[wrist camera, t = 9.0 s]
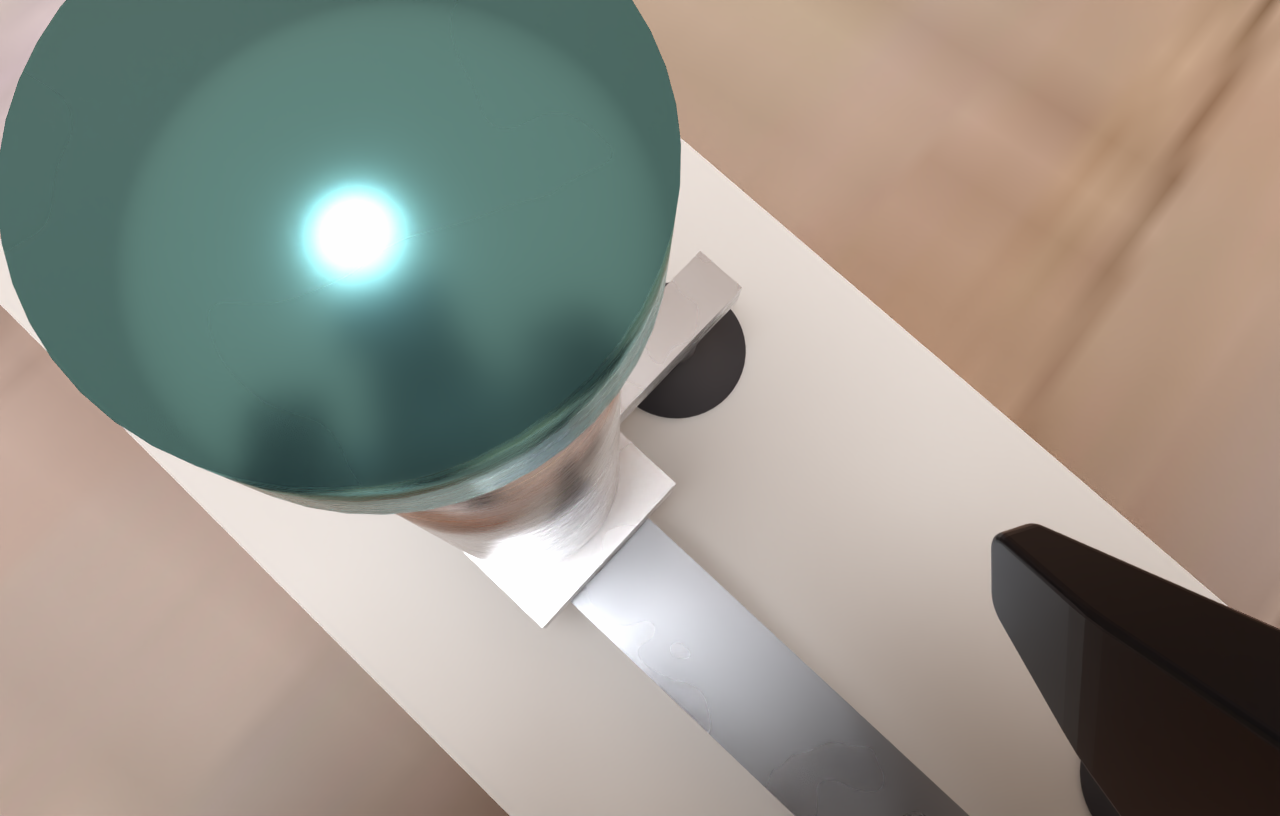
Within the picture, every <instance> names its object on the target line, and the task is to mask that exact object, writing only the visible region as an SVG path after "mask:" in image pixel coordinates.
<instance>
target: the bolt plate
mask: <svg viewBox="0 0 1280 816" xmlns="http://www.w3.org/2000/svg"><path fill="white" fill-rule="evenodd" d="M680 140H681V171H680V190H679V197H678V203H677V210H676V217H675V224H674V230H673V237H672V244H671V251H670V257H669V264H668V270H667V276H666V282H665V286H666V285H667V284H668V283H669V282H670V281H671V280H672V279H673V278H674V277H675V276H676V275H677V274H678V273H679V272H680V271H681V270H682V269H683V268H684V267H685V266H686V265H687V264H688V263H689V262H690V261H691V260H692V259H693V258H694V257H695V256H696V255H697V254H698V253H699V251H701V252H702V253H703V254H704V255H706V256H707V257H708V258H709V259H710V260H711V261H712V262H714V263H715V264H716V265H717V266H718V267H719V268H720V269H722V270H723V271H724V272H725V273H726V274H727V275H728V276H730V277H731V278H732V279H733V280H734V281H735V282H736V283H738V284H739V285H740V286H741V287H742V289H741V292H740V295H739V298H738V300H737V302H736V303H735V305H734V306H733V307H732V308H731V309H730V310H729V311H728V312H727V313H726V314H725V315H724V316H723V317H722V318H721V319H720V320H719V321H718V322H717V323H716V324H715V325H714V327H713V328H712V329H711V330H710V331H709V332H708V333H707V334H706V335H705V336H704V337H703V338H702V339H701V340H700V341H699V342H698V343H697V345H696V348H695V351H694V353H693V355H692V356H691V357H690V358H689V359H688V360H686V361H685V362H682V363H678V364H677V365H676V366H675V367H674V368H673V369H672V371H671V372H670V373H669V374H668V375H667V376H666V377H665V378H664V379H663V380H662V381H661V382H660V383H659V384H658V385H657V386H656V387H655V388H654V389H653V390H652V391H651V393H650V394H649V395H648V396H647V397H646V398H645V399H644V400H643V401H642V402H641V403H640V404H639V405H638V406H637V407H636V408H635V409H634V410H633V411H632V412H631V413H630V415H629V416H628V417H627V418H626V419H625V420H624V421H623V422H622V423H621V424H620V433H622V434H623V435H624V436H625V437H626V438H627V439H628V440H629V441H630V442H631V443H632V444H634V445H635V446H636V447H637V448H638V449H639V450H640V451H641V452H642V453H643V454H644V455H646V456H647V457H648V458H649V459H650V460H651V461H652V462H653V463H654V464H655V465H656V466H658V467H659V468H660V469H661V470H662V471H663V472H664V473H665V474H666V475H667V476H668V477H670V478H671V479H672V480H673V481H674V482H675V483H676V485H675V487H674V489H673V492H672V493H671V494H670V495H669V496H668V497H667V498H666V499H665V500H664V501H663V503H662V504H661V505H660V506H659V507H658V508H657V509H656V510H655V511H654V512H653V513H652V514H651V515H650V517H649V519H650V520H651V521H652V522H653V523H654V524H655V525H656V526H657V527H659V528H660V529H661V530H662V531H663V532H664V533H665V534H666V535H667V536H668V537H669V538H670V539H672V540H673V541H674V542H675V543H676V544H677V545H678V546H679V547H680V548H681V549H682V550H683V551H684V552H686V553H687V554H688V555H689V556H690V557H691V558H692V559H693V560H694V561H695V562H696V563H697V564H698V565H700V566H701V567H702V568H703V569H704V570H705V571H706V572H707V573H708V574H709V575H710V576H711V577H713V578H714V579H715V580H716V581H717V582H718V583H719V584H720V585H721V586H722V587H723V588H724V589H725V590H727V591H728V592H729V593H730V594H731V595H732V596H733V597H734V598H735V599H736V600H737V601H738V602H739V603H741V604H742V605H743V606H744V607H745V608H746V609H747V610H748V611H749V612H750V613H751V614H752V615H754V616H755V617H756V618H757V619H758V620H759V621H760V622H761V623H762V624H763V625H764V626H765V627H766V628H768V629H769V630H770V631H771V632H772V633H773V634H774V635H775V636H776V637H777V638H778V639H779V640H780V641H782V642H783V643H784V644H785V645H786V646H787V647H788V648H789V649H790V650H791V651H792V652H793V653H795V654H796V655H797V656H798V657H799V658H800V659H801V660H802V661H803V662H804V663H805V664H806V665H807V666H809V667H810V668H811V669H812V670H813V671H814V672H815V673H816V674H817V675H818V676H819V677H820V678H821V679H823V680H824V681H825V682H826V683H827V684H828V685H829V686H830V687H831V688H832V689H833V690H834V691H835V692H837V693H838V694H839V695H840V696H841V697H842V698H843V699H844V700H845V701H846V702H847V703H848V704H850V705H851V706H852V707H853V708H854V709H855V710H856V711H857V712H858V713H859V714H860V715H861V716H862V717H864V718H865V719H866V720H867V721H868V722H869V723H870V724H871V725H872V726H873V727H874V728H875V729H876V730H878V731H879V732H880V733H881V734H882V735H883V736H884V737H885V738H886V739H887V740H888V741H889V742H891V743H892V744H893V745H894V746H895V747H896V748H897V749H898V750H899V751H900V752H901V753H902V754H903V755H905V756H906V757H907V758H908V759H909V760H910V761H911V762H912V763H913V764H914V765H915V766H916V767H917V768H919V769H920V770H921V771H922V772H923V773H924V774H925V775H926V776H927V777H928V778H929V779H930V780H932V781H933V782H934V783H935V784H936V785H937V786H938V787H939V788H940V789H941V790H942V791H943V792H944V793H946V794H947V795H948V796H949V797H950V798H951V799H952V800H953V801H954V802H955V803H956V804H957V805H958V806H960V807H961V808H962V809H963V810H964V811H965V812H966V813H967V814H968V815H969V816H1120V815H1119V813H1118V812H1117V811H1116V809H1115V808H1114V807H1113V805H1112V804H1111V802H1110V801H1109V800H1108V798H1107V797H1106V795H1105V794H1104V793H1103V791H1102V790H1101V789H1100V787H1099V786H1098V784H1097V783H1096V782H1095V780H1094V779H1093V777H1092V776H1091V775H1090V773H1089V772H1088V770H1087V769H1086V767H1085V766H1084V764H1083V763H1082V761H1081V760H1080V759H1079V757H1078V756H1077V754H1076V753H1075V751H1074V749H1073V748H1072V746H1071V744H1070V743H1069V741H1068V739H1067V738H1066V736H1065V734H1064V733H1063V731H1062V729H1061V727H1060V726H1059V724H1058V722H1057V720H1056V719H1055V717H1054V715H1053V713H1052V712H1051V710H1050V708H1049V706H1048V705H1047V703H1046V701H1045V699H1044V698H1043V696H1042V694H1041V692H1040V691H1039V689H1038V687H1037V685H1036V684H1035V682H1034V680H1033V678H1032V676H1031V675H1030V673H1029V671H1028V669H1027V668H1026V666H1025V664H1024V662H1023V661H1022V659H1021V657H1020V655H1019V654H1018V652H1017V650H1016V648H1015V647H1014V645H1013V643H1012V641H1011V640H1010V638H1009V636H1008V634H1007V633H1006V631H1005V629H1004V627H1003V626H1002V624H1001V622H1000V620H999V618H998V616H997V614H996V611H995V609H994V605H993V601H992V594H991V544H992V540H993V538H994V536H995V535H996V534H998V533H1000V532H1003V531H1006V530H1009V529H1012V528H1015V527H1018V526H1022V525H1025V524H1028V523H1035V524H1040V525H1042V526H1045V527H1047V528H1050V529H1052V530H1054V531H1056V532H1059V533H1061V534H1063V535H1066V536H1068V537H1070V538H1072V539H1075V540H1077V541H1079V542H1082V543H1084V544H1086V545H1088V546H1091V547H1093V548H1095V549H1098V550H1100V551H1102V552H1104V553H1107V554H1109V555H1111V556H1114V557H1116V558H1118V559H1120V560H1123V561H1125V562H1127V563H1130V564H1132V565H1134V566H1136V567H1139V568H1141V569H1143V570H1146V571H1148V572H1150V573H1152V574H1155V575H1157V576H1159V577H1162V578H1164V579H1166V580H1168V581H1171V582H1173V583H1175V584H1178V585H1180V586H1182V587H1184V588H1187V589H1189V590H1191V591H1194V592H1196V593H1198V594H1200V595H1203V596H1205V597H1207V598H1210V599H1212V600H1214V601H1216V602H1219V603H1221V604H1223V605H1226V604H1225V603H1224V602H1223V601H1221V600H1220V599H1219V598H1218V597H1217V596H1216V595H1214V594H1213V593H1212V592H1211V591H1210V590H1209V589H1207V588H1206V587H1205V586H1204V585H1203V584H1202V583H1200V582H1199V581H1198V580H1197V579H1196V578H1195V577H1193V576H1192V575H1191V574H1190V573H1189V572H1188V571H1186V570H1185V569H1184V568H1183V567H1182V566H1181V565H1179V564H1178V563H1177V562H1176V561H1175V560H1174V559H1172V558H1171V557H1170V556H1169V555H1168V554H1167V553H1165V552H1164V551H1163V550H1162V549H1161V548H1160V547H1158V546H1157V545H1156V544H1155V543H1154V542H1152V541H1151V540H1150V539H1149V538H1148V537H1147V536H1145V535H1144V534H1143V533H1142V532H1141V531H1140V530H1138V529H1137V528H1136V527H1135V526H1134V525H1133V524H1131V523H1130V522H1129V521H1128V520H1127V519H1126V518H1124V517H1123V516H1122V515H1121V514H1120V513H1119V512H1117V511H1116V510H1115V509H1114V508H1113V507H1112V506H1110V505H1109V504H1108V503H1107V502H1106V501H1105V500H1103V499H1102V498H1101V497H1100V496H1099V495H1098V494H1096V493H1095V492H1094V491H1093V490H1092V489H1091V488H1089V487H1088V486H1087V485H1086V484H1085V483H1084V482H1082V481H1081V480H1080V479H1079V478H1078V477H1076V476H1075V475H1074V474H1073V473H1072V472H1071V471H1069V470H1068V469H1067V468H1066V467H1065V466H1064V465H1062V464H1061V463H1060V462H1059V461H1058V460H1057V459H1055V458H1054V457H1053V456H1052V455H1051V454H1050V453H1048V452H1047V451H1046V450H1045V449H1044V448H1043V447H1041V446H1040V445H1039V444H1038V443H1037V442H1036V441H1034V440H1033V439H1032V438H1031V437H1030V436H1029V435H1027V434H1026V433H1025V432H1024V431H1023V430H1022V429H1020V428H1019V427H1018V426H1017V425H1016V424H1015V423H1013V422H1012V421H1011V420H1010V419H1009V418H1008V417H1006V416H1005V415H1004V414H1003V413H1002V412H1000V411H999V410H998V409H997V408H996V407H995V406H993V405H992V404H991V403H990V402H989V401H988V400H986V399H985V398H984V397H983V396H982V395H981V394H979V393H978V392H977V391H976V390H975V389H974V388H972V387H971V386H970V385H969V384H968V383H967V382H965V381H964V380H963V379H962V378H961V377H960V376H958V375H957V374H956V373H955V372H954V371H953V370H951V369H950V368H949V367H948V366H947V365H946V364H944V363H943V362H942V361H941V360H940V359H939V358H937V357H936V356H935V355H934V354H933V353H932V352H930V351H929V350H928V349H927V348H926V347H924V346H923V345H922V344H921V343H920V342H919V341H917V340H916V339H915V338H914V337H913V336H912V335H910V334H909V333H908V332H907V331H906V330H905V329H903V328H902V327H901V326H900V325H899V324H898V323H896V322H895V321H894V320H893V319H892V318H891V317H889V316H888V315H887V314H886V313H885V312H884V311H882V310H881V309H880V308H879V307H878V306H877V305H875V304H874V303H873V302H872V301H871V300H870V299H868V298H867V297H866V296H865V295H864V294H863V293H861V292H860V291H859V290H858V289H857V288H856V287H854V286H853V285H852V284H851V283H850V282H848V281H847V280H846V279H845V278H844V277H843V276H841V275H840V274H839V273H838V272H837V271H836V270H834V269H833V268H832V267H831V266H830V265H829V264H827V263H826V262H825V261H824V260H823V259H822V258H820V257H819V256H818V255H817V254H816V253H815V252H813V251H812V250H811V249H810V248H809V247H808V246H806V245H805V244H804V243H803V242H802V241H801V240H799V239H798V238H797V237H796V236H795V235H794V234H792V233H791V232H790V231H789V230H788V229H787V228H785V227H784V226H783V225H782V224H781V223H779V222H778V221H777V220H776V219H775V218H774V217H772V216H771V215H770V214H769V213H768V212H767V211H765V210H764V209H763V208H762V207H761V206H760V205H758V204H757V203H756V202H755V201H754V200H753V199H751V198H750V197H749V196H748V195H747V194H746V193H744V192H743V191H742V190H741V189H740V188H739V187H737V186H736V185H735V184H734V183H733V182H732V181H730V180H729V179H728V178H727V177H726V176H725V175H723V174H722V173H721V172H720V171H719V170H718V169H716V168H715V167H714V166H713V165H712V164H711V163H709V162H708V161H707V160H706V159H705V158H703V157H702V156H701V155H700V154H699V153H698V152H696V151H695V150H694V149H693V148H692V147H691V146H689V145H688V144H687V143H686V142H685V141H684V140H682V139H681V138H680ZM0 305H1V306H2V307H3V308H4V309H5V310H6V311H7V312H8V313H9V314H10V315H11V316H12V317H13V318H14V319H15V320H16V321H17V322H18V323H19V324H20V325H21V326H22V327H23V328H24V329H25V330H26V331H27V332H28V333H29V334H30V335H31V336H32V337H33V338H34V339H35V340H36V341H37V342H38V343H39V344H40V345H41V346H42V347H43V348H44V349H45V347H44V345H43V344H42V342H41V341H40V339H39V337H38V336H37V334H36V333H35V331H34V329H33V328H32V326H31V325H30V323H29V321H28V319H27V316H26V314H25V312H24V309H23V307H22V305H21V302H20V300H19V298H18V296H17V293H16V291H15V289H14V286H13V284H12V280H11V277H10V273H9V269H8V265H7V262H6V258H5V254H4V250H3V247H2V242H1V239H0ZM45 350H46V349H45ZM46 351H47V350H46ZM123 428H124V427H123ZM124 429H125V428H124ZM125 430H126V431H127V432H128V433H129V434H130V435H131V436H132V437H133V438H134V439H135V440H136V441H137V442H138V443H139V444H140V445H141V446H142V447H143V448H144V449H145V450H146V451H147V452H148V453H149V454H150V455H151V456H152V457H153V458H154V459H155V460H156V461H157V462H158V463H159V464H160V465H161V466H162V467H163V468H164V469H165V470H166V471H167V472H168V473H169V474H170V475H171V476H172V477H173V478H174V479H175V480H176V481H177V482H178V483H179V484H180V485H181V486H182V487H183V488H184V489H185V490H186V491H187V492H188V493H189V494H190V495H191V496H192V497H193V498H194V499H195V500H196V501H197V502H198V503H199V504H200V505H201V506H202V507H203V508H204V509H205V510H206V511H207V512H208V513H209V514H210V515H211V516H212V517H213V518H214V519H215V520H216V521H217V522H218V523H219V524H220V525H221V526H222V527H223V528H224V529H225V530H226V531H227V533H228V534H229V535H230V536H231V537H232V538H233V539H234V540H235V541H236V542H237V543H238V544H239V545H240V546H241V547H242V548H243V549H244V550H245V551H246V552H247V553H248V554H249V555H250V556H251V557H252V558H253V559H254V560H255V561H256V562H257V563H258V564H259V565H260V566H261V567H262V568H263V569H264V570H265V571H266V572H267V573H268V574H269V575H270V576H271V577H272V578H273V579H274V580H275V581H276V582H277V583H278V584H279V585H280V586H281V587H282V588H283V589H284V590H285V591H286V592H287V593H288V594H289V595H290V596H291V597H292V598H293V599H294V600H295V601H296V602H297V603H298V604H299V605H300V606H301V607H302V608H303V609H304V610H305V611H306V612H307V613H308V614H309V615H310V616H311V617H312V618H313V619H314V620H315V621H316V622H317V623H318V624H319V625H320V626H321V627H322V628H323V629H324V630H325V631H326V632H327V633H328V634H329V635H330V636H331V637H332V638H333V639H334V640H335V641H336V642H337V643H338V644H339V645H340V646H341V647H342V648H343V649H344V650H345V651H346V652H347V653H348V654H349V655H350V656H351V657H352V658H353V659H354V660H355V661H356V662H357V663H358V664H359V665H360V666H361V667H362V668H363V669H364V670H365V671H366V672H367V673H368V674H369V675H370V676H371V677H372V678H373V679H374V680H375V681H376V682H377V683H378V684H379V685H380V686H381V687H382V688H383V689H384V690H385V691H386V692H387V693H388V694H389V695H390V696H391V697H392V698H393V699H394V700H395V701H396V702H397V703H398V704H399V705H400V706H401V707H402V708H403V709H404V710H405V711H406V712H407V713H408V714H409V715H410V716H411V717H412V718H413V719H414V720H415V721H416V722H417V723H418V724H419V725H420V726H421V727H422V728H423V729H424V730H425V731H426V732H427V733H428V734H429V735H430V736H431V737H432V738H433V739H434V740H435V741H436V742H437V743H438V744H439V745H440V746H441V747H442V748H443V749H444V750H445V751H446V752H447V753H448V754H449V755H450V756H451V757H452V758H453V759H454V760H455V761H456V762H457V763H458V764H459V765H460V766H461V767H462V768H463V769H464V770H465V771H466V772H467V773H468V774H469V775H470V776H471V777H472V778H473V779H474V780H475V781H476V782H477V783H478V784H479V785H480V786H481V787H482V788H483V789H484V790H485V791H486V792H487V793H488V794H489V795H490V796H491V797H492V799H493V800H494V801H495V802H496V803H497V804H498V805H499V806H500V807H501V808H502V809H503V810H504V811H505V812H506V813H507V814H508V815H509V816H794V815H793V814H792V813H791V812H790V811H789V810H788V809H787V808H786V807H785V806H784V805H783V804H782V803H781V802H780V801H779V800H778V799H777V798H776V797H774V796H773V795H772V794H771V793H770V792H769V791H768V790H767V789H766V788H765V787H764V786H763V785H762V784H761V783H760V782H759V781H758V780H757V779H756V778H755V777H754V776H752V775H751V774H750V773H749V772H748V771H747V770H746V769H745V768H744V767H743V766H742V765H741V764H740V763H739V762H738V761H737V760H736V759H735V758H734V757H733V756H732V755H730V754H729V753H728V752H727V751H726V750H725V749H724V748H723V747H722V746H721V745H720V744H719V743H718V742H717V741H716V740H715V739H714V738H713V737H712V736H711V735H710V734H708V733H707V732H706V731H705V730H704V729H703V728H702V727H701V726H700V725H699V724H698V723H697V722H696V721H695V720H694V719H693V718H692V717H691V716H690V715H689V714H688V713H686V712H685V711H684V710H683V709H682V708H681V707H680V706H679V705H678V704H677V703H676V702H675V701H674V700H673V699H672V698H671V697H670V696H669V695H668V694H667V693H666V692H664V691H663V690H662V689H661V688H660V687H659V686H658V685H657V684H656V683H655V682H654V681H653V680H652V679H651V678H650V677H649V676H648V675H647V674H646V673H645V672H644V671H642V670H641V669H640V668H639V667H638V666H637V665H636V664H635V663H634V662H633V661H632V660H631V659H630V658H629V657H628V656H627V655H626V654H625V653H624V652H623V651H622V650H620V649H619V648H618V647H617V646H616V645H615V644H614V643H613V642H612V641H611V640H610V639H609V638H608V637H607V636H606V635H605V634H604V633H603V632H602V631H601V630H600V629H598V628H597V627H596V626H595V625H594V624H593V623H592V622H591V621H590V620H589V619H588V618H587V617H586V616H585V615H584V614H583V613H582V612H581V611H580V610H579V609H578V608H577V607H575V606H574V605H573V604H572V603H571V602H570V603H569V604H568V605H567V606H566V607H565V608H564V609H563V611H562V612H561V613H560V614H559V615H558V616H557V617H556V618H555V619H554V620H553V621H552V622H551V623H550V625H549V626H548V627H547V628H542V627H541V626H540V625H539V624H538V623H537V622H536V621H535V620H534V619H532V618H531V617H530V616H529V615H528V614H527V613H526V612H525V611H524V610H523V609H522V608H521V607H520V606H519V605H518V604H517V603H516V602H515V601H514V600H513V599H512V598H511V597H510V596H509V595H508V594H507V593H506V592H504V591H503V590H502V589H501V588H500V587H499V586H498V585H497V584H496V583H495V582H494V581H493V580H492V579H491V578H490V577H489V576H488V575H487V574H486V573H485V572H484V571H483V570H482V569H481V568H480V567H479V566H478V565H476V564H475V563H474V562H473V561H472V560H471V559H470V558H469V557H468V556H467V555H466V554H465V553H464V552H463V551H461V550H460V549H458V548H456V547H454V546H452V545H451V544H449V543H447V542H445V541H443V540H442V539H440V538H438V537H436V536H434V535H433V534H431V533H429V532H427V531H425V530H424V529H422V528H420V527H418V526H416V525H415V524H413V523H411V522H409V521H407V520H406V519H404V518H402V517H400V516H398V515H397V514H388V515H377V514H345V513H339V512H333V511H327V510H321V509H315V508H308V507H305V506H301V505H298V504H295V503H292V502H288V501H285V500H282V499H278V498H275V497H272V496H269V495H267V494H264V493H262V492H259V491H257V490H254V489H252V488H249V487H247V486H244V485H242V484H239V483H237V482H234V481H232V480H229V479H227V478H224V477H222V476H220V475H217V474H215V473H212V472H210V471H207V470H205V469H202V468H200V467H197V466H195V465H193V464H190V463H188V462H186V461H184V460H182V459H180V458H177V457H175V456H173V455H171V454H169V453H166V452H164V451H162V450H160V449H158V448H156V447H153V446H152V445H150V444H148V443H147V442H145V441H144V440H142V439H141V438H139V437H138V436H136V435H134V434H133V433H131V432H130V431H128V430H127V429H125ZM1226 606H1227V605H1226Z"/></svg>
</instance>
